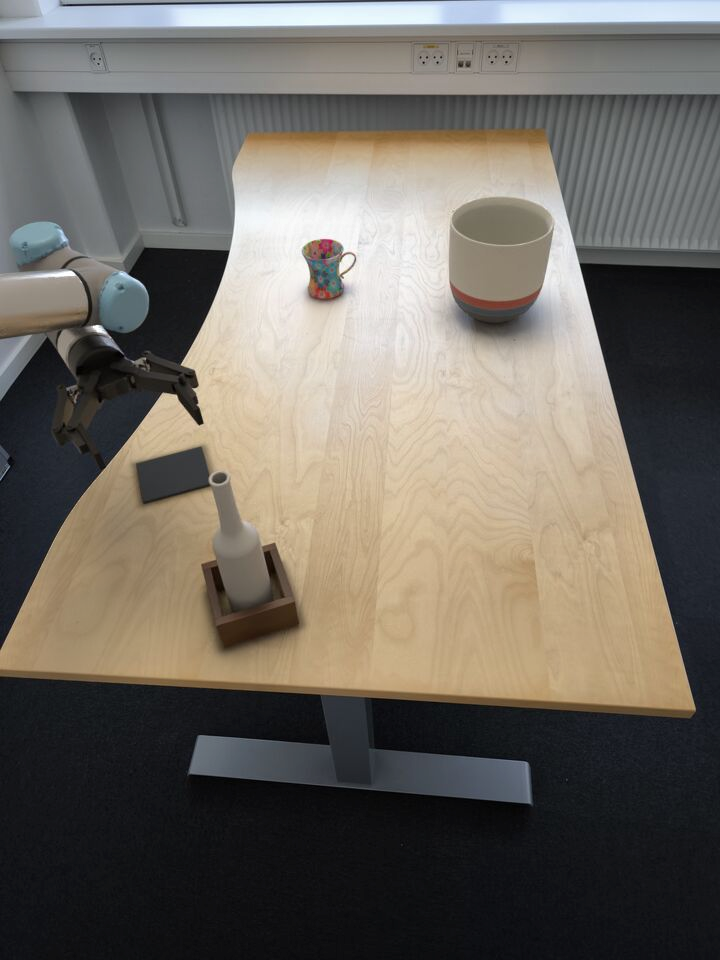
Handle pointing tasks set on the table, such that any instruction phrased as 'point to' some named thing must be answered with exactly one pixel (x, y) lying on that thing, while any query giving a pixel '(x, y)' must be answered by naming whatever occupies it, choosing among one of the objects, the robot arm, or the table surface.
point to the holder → (255, 618)
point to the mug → (325, 267)
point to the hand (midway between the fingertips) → (151, 438)
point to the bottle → (238, 551)
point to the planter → (498, 256)
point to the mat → (173, 474)
